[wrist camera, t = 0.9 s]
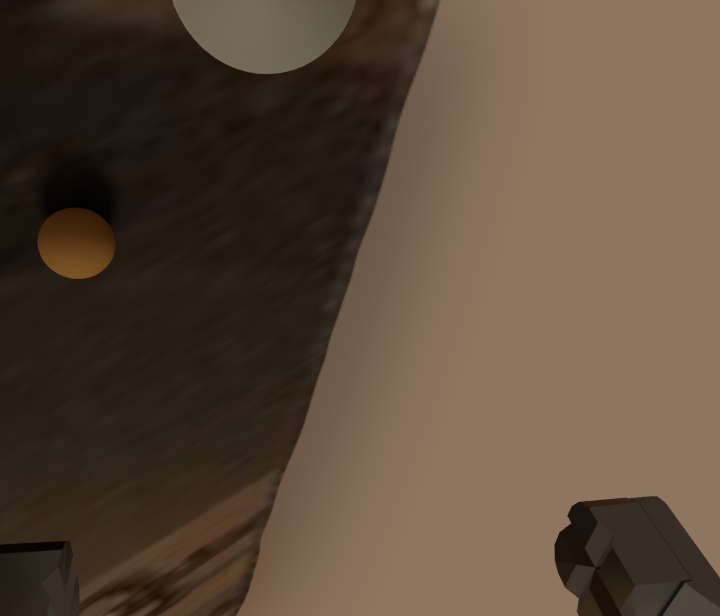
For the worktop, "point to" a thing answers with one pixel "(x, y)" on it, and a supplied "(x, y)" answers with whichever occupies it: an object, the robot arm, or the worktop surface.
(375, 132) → the worktop surface
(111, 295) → the worktop surface
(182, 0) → the disc
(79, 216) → the ball
